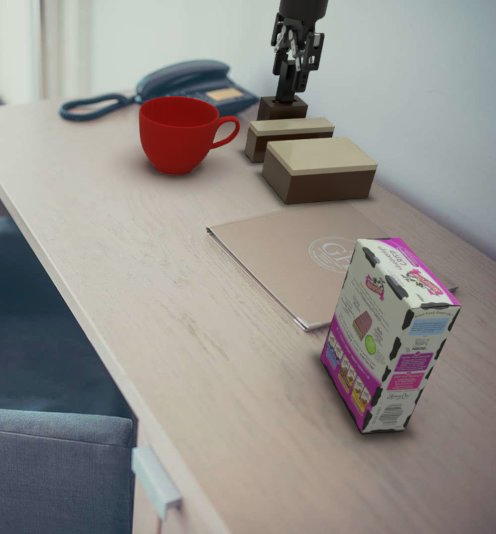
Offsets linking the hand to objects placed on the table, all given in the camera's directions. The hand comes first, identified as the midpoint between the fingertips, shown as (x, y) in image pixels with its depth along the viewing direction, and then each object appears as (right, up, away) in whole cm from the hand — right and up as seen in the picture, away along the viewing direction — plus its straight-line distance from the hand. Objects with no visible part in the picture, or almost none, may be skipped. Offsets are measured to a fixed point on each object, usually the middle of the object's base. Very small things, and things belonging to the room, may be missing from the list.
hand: (287, 83), depth 113 cm
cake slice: (0, -12, +1) cm, 13 cm away
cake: (+2, -19, -8) cm, 21 cm away
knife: (0, -9, +6) cm, 11 cm away
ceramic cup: (-19, -15, -3) cm, 24 cm away
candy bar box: (-5, -46, -44) cm, 64 cm away
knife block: (0, -9, +6) cm, 11 cm away
